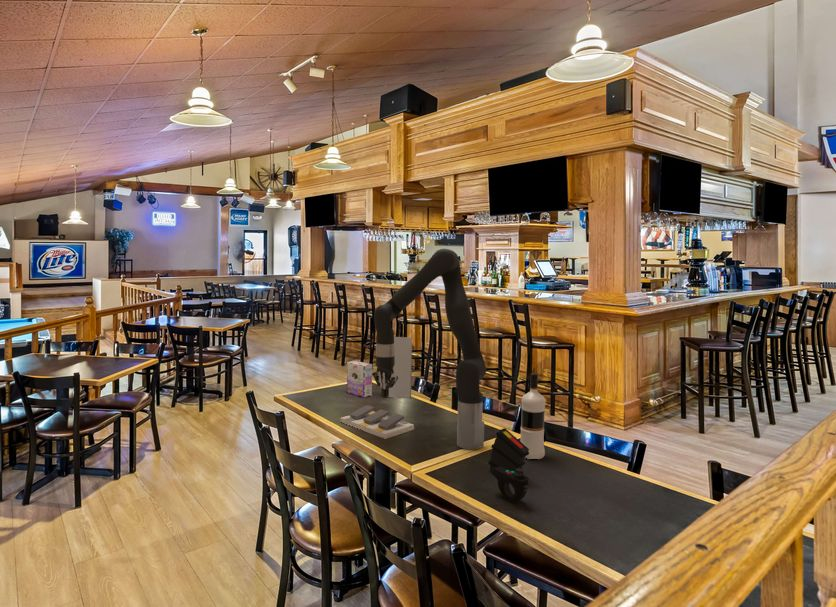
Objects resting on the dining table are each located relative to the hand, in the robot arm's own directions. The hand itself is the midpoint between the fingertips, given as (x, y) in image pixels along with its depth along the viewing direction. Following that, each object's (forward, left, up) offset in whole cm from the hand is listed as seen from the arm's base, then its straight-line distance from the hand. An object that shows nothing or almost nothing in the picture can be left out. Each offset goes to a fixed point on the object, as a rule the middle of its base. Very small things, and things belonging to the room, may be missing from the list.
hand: (385, 397), depth 206 cm
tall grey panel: (+36, -42, -15) cm, 57 cm away
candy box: (+52, -31, -15) cm, 62 cm away
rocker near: (0, -4, -11) cm, 12 cm away
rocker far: (+18, -4, -11) cm, 22 cm away
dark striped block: (-58, -1, -15) cm, 60 cm away
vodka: (-54, -22, -15) cm, 60 cm away
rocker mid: (+9, -4, -11) cm, 15 cm away
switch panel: (+9, -4, -15) cm, 18 cm away
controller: (-67, +12, -15) cm, 70 cm away
